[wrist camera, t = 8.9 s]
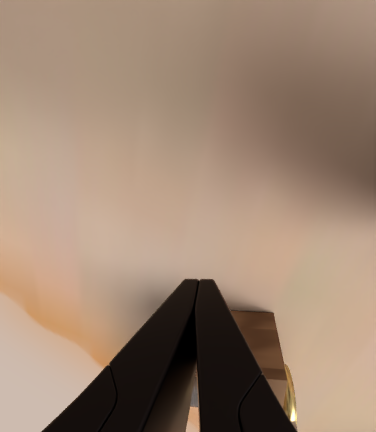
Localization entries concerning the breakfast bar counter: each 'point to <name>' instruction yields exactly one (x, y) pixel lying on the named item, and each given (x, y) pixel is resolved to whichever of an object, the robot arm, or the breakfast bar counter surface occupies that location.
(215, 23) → the breakfast bar counter surface
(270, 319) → the block
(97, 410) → the robot arm
